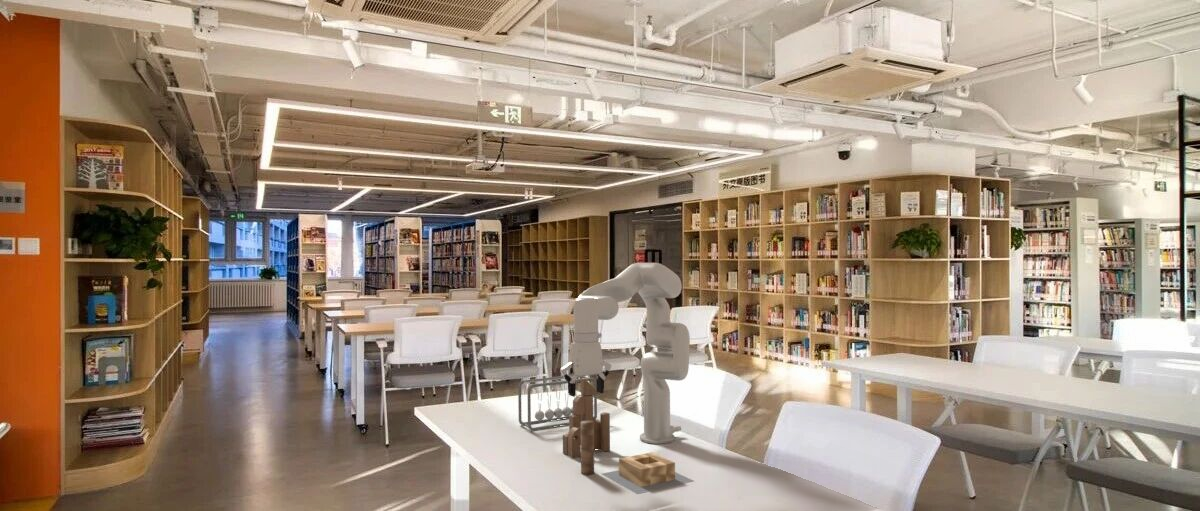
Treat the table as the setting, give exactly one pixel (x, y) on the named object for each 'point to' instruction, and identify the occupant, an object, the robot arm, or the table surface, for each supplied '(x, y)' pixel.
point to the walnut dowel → (587, 447)
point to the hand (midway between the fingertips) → (586, 394)
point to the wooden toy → (585, 413)
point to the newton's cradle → (549, 413)
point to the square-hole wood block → (646, 469)
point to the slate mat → (637, 489)
